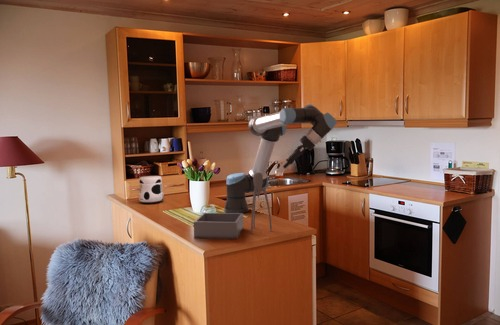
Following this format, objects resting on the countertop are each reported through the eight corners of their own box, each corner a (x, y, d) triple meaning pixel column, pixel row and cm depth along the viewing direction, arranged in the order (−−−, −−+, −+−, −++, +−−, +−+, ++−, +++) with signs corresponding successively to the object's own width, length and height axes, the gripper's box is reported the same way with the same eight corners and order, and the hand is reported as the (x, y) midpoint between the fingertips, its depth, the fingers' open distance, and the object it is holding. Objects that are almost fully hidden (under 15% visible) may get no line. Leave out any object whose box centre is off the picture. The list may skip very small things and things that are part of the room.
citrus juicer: (272, 231, 214) (271, 172, 211) (260, 235, 206) (259, 174, 203) (253, 227, 221) (252, 171, 218) (242, 232, 213) (241, 173, 210)
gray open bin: (204, 227, 223) (203, 212, 222) (243, 228, 220) (242, 213, 219) (194, 238, 203) (193, 221, 202) (237, 239, 200) (236, 222, 200)
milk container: (135, 202, 299) (133, 177, 297) (157, 199, 309) (156, 174, 307) (145, 205, 285) (143, 179, 283) (168, 202, 295) (167, 177, 294)
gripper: (316, 146, 193) (284, 179, 196) (315, 144, 218) (286, 173, 221) (304, 135, 193) (272, 168, 196) (304, 133, 218) (276, 163, 221)
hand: (279, 170), depth 209 cm, fingers open, 13 cm apart
